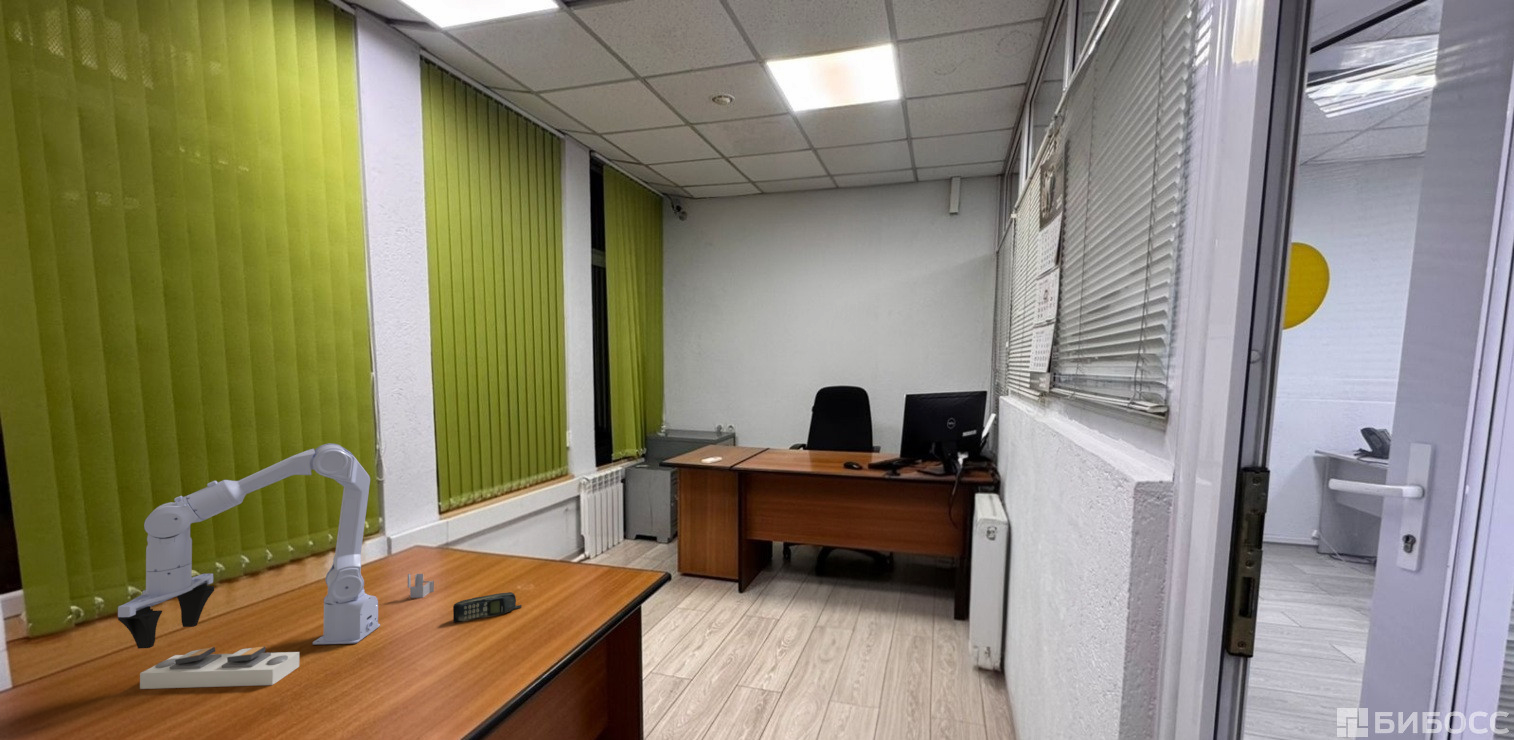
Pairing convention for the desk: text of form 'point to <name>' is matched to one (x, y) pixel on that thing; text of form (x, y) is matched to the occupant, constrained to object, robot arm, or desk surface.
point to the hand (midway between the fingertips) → (168, 636)
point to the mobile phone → (484, 607)
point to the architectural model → (420, 586)
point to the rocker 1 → (195, 655)
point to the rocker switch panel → (220, 671)
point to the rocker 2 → (246, 654)
